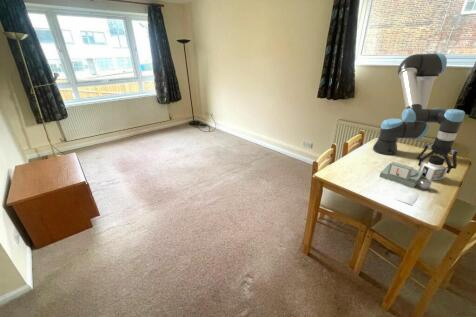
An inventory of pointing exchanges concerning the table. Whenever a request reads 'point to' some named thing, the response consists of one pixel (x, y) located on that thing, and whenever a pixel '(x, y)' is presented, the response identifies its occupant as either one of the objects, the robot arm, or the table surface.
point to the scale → (401, 174)
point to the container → (433, 168)
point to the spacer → (424, 184)
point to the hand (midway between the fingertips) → (431, 174)
